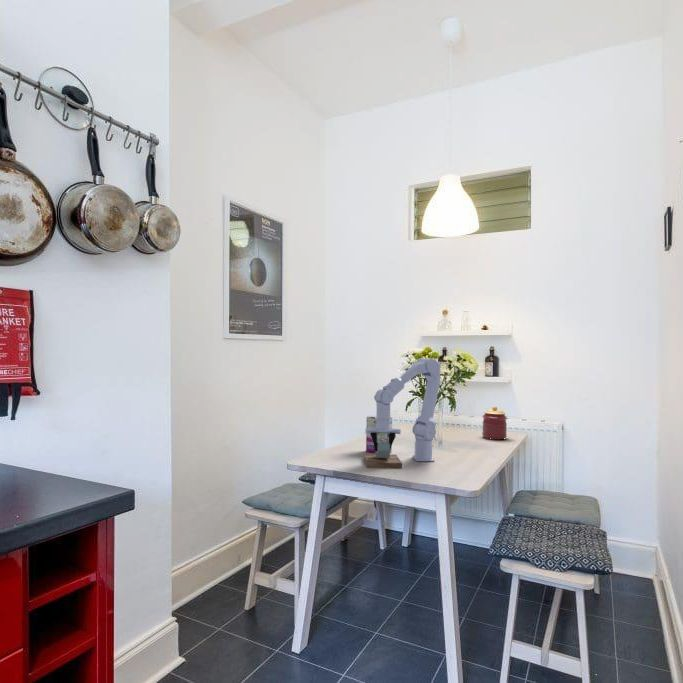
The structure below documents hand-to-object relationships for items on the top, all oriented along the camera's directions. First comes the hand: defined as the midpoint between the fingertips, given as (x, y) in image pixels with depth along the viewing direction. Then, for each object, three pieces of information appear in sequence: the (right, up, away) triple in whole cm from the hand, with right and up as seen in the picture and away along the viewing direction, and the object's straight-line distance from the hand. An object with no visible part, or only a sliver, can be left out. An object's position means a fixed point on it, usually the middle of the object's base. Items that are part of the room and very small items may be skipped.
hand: (382, 451), depth 203 cm
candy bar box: (0, -6, +22) cm, 23 cm away
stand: (0, -5, 0) cm, 5 cm away
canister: (+68, -8, +66) cm, 95 cm away
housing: (0, -2, 0) cm, 2 cm away
